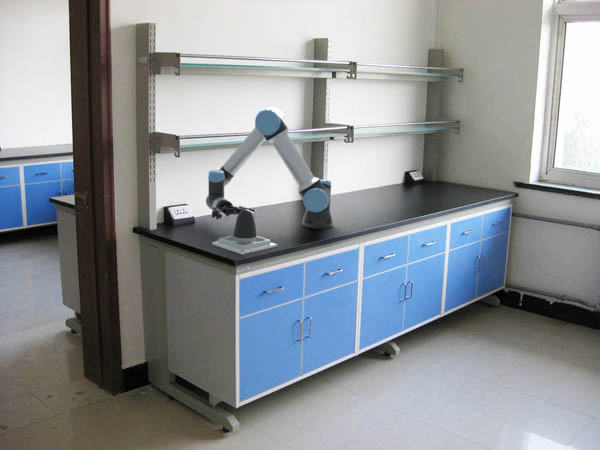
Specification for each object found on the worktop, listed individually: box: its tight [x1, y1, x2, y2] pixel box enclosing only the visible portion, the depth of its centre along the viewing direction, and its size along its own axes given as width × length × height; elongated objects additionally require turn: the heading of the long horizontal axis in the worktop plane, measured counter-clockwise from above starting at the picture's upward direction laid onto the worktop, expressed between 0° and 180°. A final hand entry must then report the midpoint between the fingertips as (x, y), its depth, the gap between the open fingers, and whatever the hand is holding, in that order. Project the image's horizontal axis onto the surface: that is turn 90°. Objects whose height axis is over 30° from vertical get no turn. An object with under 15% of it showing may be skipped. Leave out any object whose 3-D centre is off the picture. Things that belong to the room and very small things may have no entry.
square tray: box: [211, 235, 278, 255], centre depth 289 cm, size 20×20×4 cm
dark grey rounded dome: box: [232, 209, 258, 245], centre depth 287 cm, size 10×10×15 cm
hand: (239, 217), depth 292 cm, fingers open, 13 cm apart
